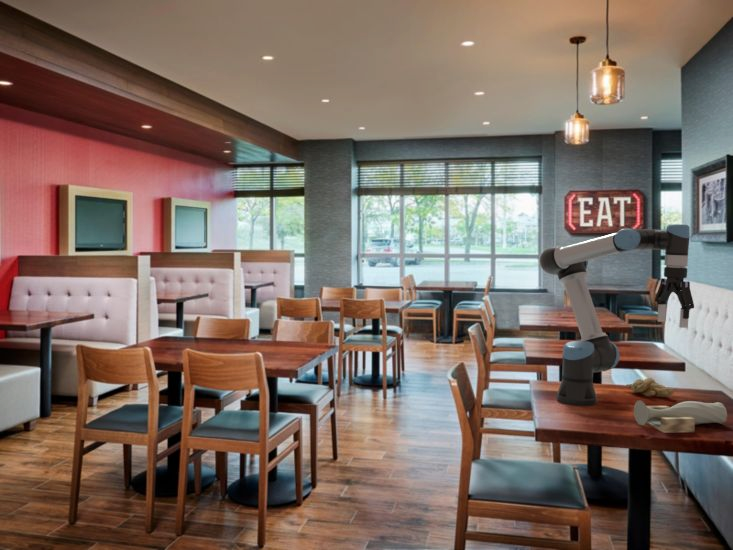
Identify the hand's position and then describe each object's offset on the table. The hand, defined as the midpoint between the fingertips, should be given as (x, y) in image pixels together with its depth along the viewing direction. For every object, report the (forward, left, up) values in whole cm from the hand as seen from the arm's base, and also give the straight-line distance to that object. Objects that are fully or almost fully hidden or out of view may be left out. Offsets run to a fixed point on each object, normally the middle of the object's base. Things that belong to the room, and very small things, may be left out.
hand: (672, 324), depth 223 cm
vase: (-10, -19, -29) cm, 36 cm away
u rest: (-2, -15, -34) cm, 37 cm away
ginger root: (-6, +30, -34) cm, 45 cm away
